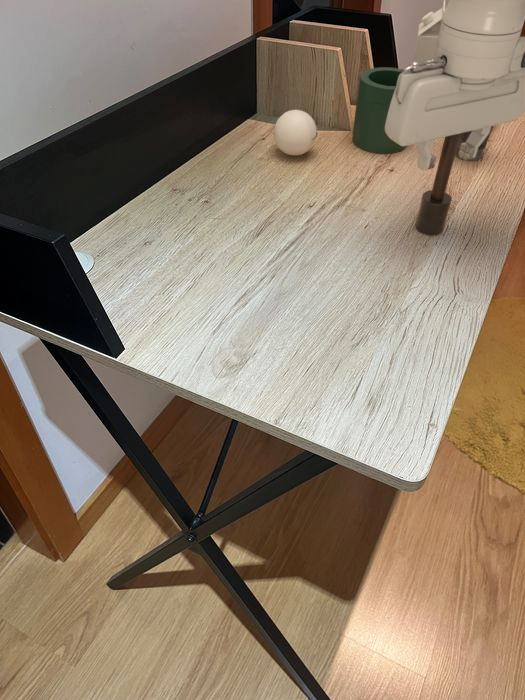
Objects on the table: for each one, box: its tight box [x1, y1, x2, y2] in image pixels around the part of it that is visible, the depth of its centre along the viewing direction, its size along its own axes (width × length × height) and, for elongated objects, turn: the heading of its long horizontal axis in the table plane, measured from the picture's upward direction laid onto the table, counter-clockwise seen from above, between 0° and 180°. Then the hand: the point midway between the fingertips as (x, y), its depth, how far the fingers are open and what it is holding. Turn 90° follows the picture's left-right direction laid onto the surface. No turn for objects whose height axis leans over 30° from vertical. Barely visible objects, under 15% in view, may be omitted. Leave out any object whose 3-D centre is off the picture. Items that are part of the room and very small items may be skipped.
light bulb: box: [273, 109, 318, 157], centre depth 98 cm, size 10×7×7 cm
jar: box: [351, 66, 410, 155], centre depth 99 cm, size 10×10×11 cm
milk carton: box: [411, 0, 446, 63], centre depth 105 cm, size 7×7×19 cm
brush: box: [415, 133, 461, 236], centre depth 77 cm, size 4×4×19 cm
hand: (445, 162), depth 76 cm, fingers open, 5 cm apart
